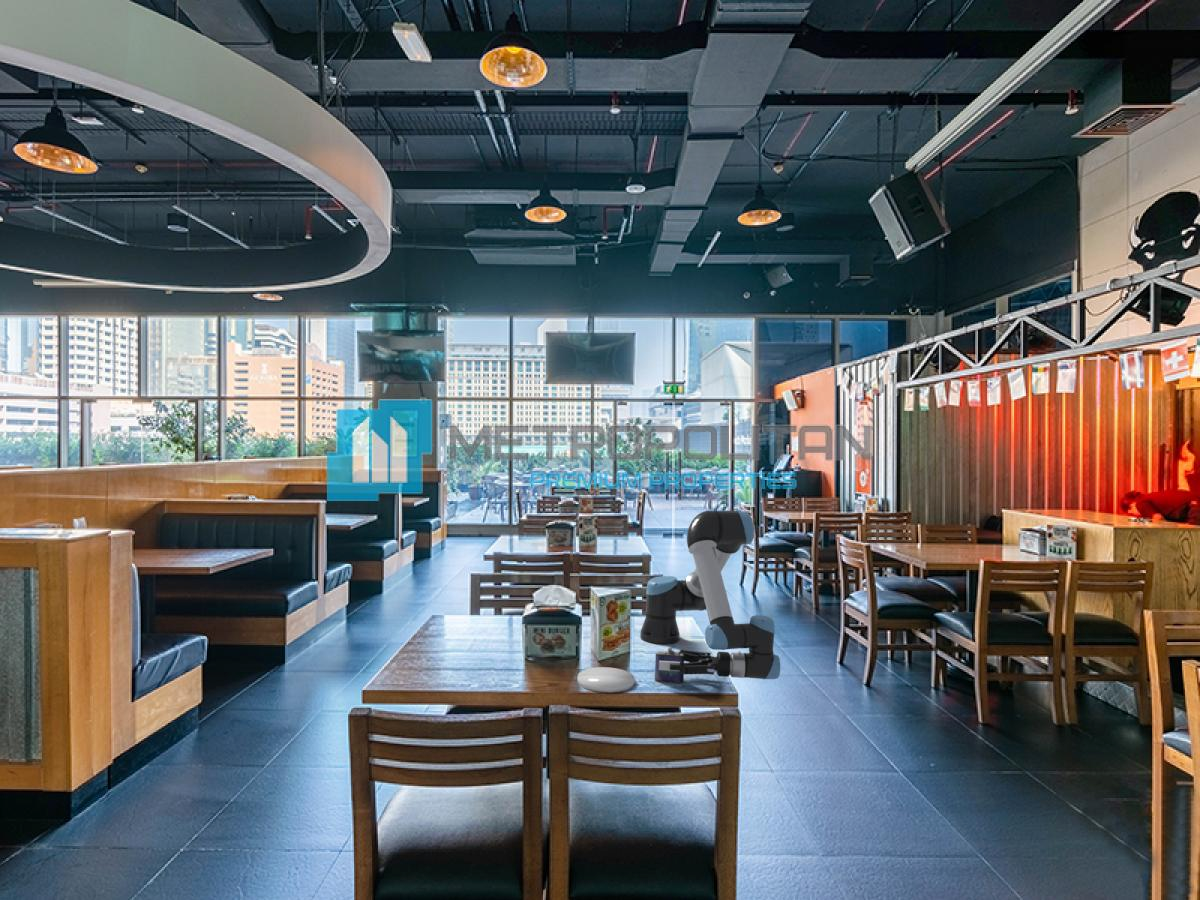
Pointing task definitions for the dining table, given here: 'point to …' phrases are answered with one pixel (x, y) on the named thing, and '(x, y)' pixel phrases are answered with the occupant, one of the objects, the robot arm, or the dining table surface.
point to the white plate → (606, 679)
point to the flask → (664, 674)
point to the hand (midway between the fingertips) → (658, 660)
